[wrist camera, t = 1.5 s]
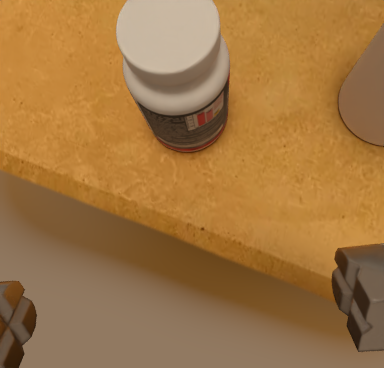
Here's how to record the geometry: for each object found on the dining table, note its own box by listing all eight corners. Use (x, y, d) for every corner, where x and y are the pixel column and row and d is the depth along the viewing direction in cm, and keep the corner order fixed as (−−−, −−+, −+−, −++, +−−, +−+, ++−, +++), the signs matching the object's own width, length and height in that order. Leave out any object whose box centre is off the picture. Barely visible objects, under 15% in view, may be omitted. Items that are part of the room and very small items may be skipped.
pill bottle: (244, 119, 24) (260, 29, 14) (182, 170, 24) (157, 112, 14) (192, 65, 25) (176, -52, 16) (133, 112, 25) (78, 22, 15)
